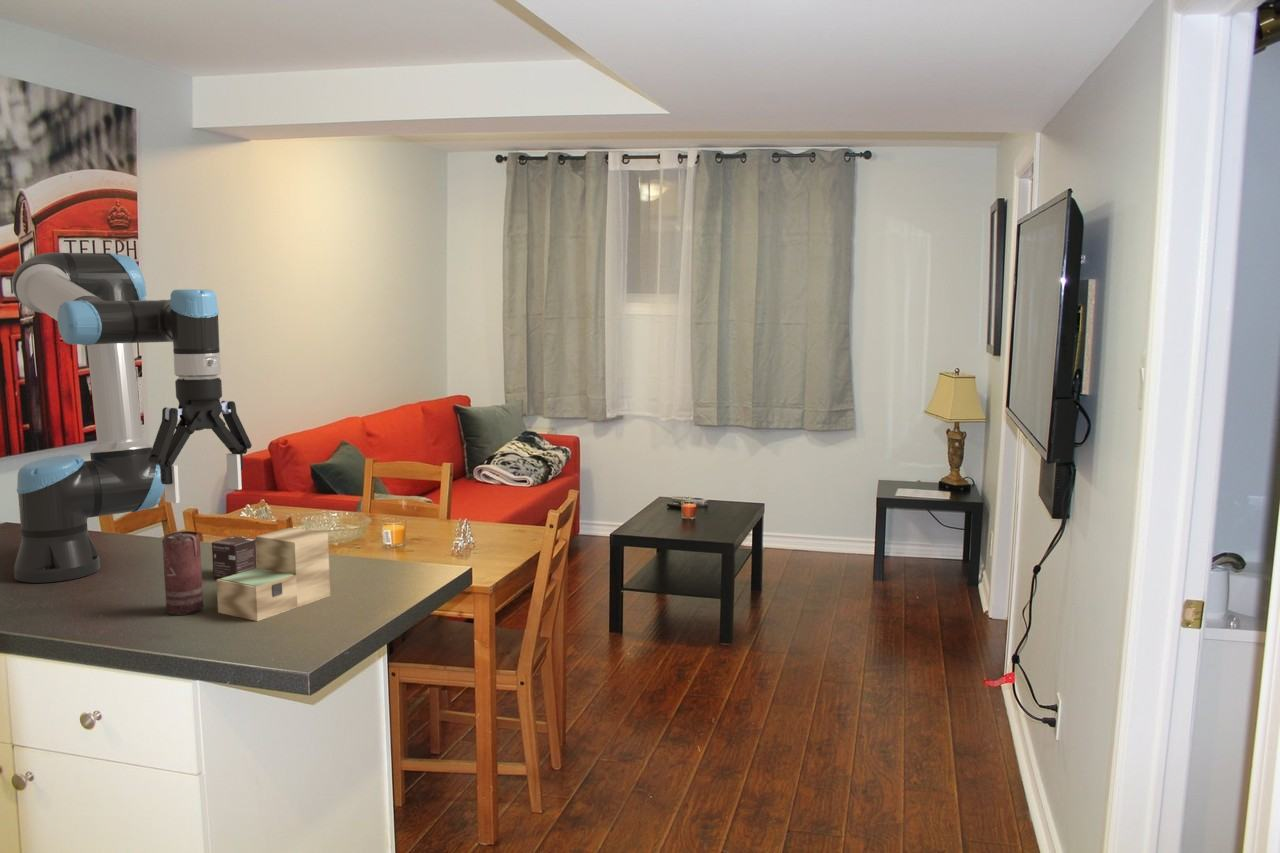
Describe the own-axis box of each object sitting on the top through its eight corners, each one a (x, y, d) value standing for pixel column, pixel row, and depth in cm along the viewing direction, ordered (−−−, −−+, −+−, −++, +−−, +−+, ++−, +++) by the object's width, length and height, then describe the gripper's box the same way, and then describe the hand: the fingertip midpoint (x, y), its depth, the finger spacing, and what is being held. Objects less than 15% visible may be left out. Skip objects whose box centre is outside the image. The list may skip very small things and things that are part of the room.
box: (212, 578, 205) (210, 542, 204) (234, 570, 211) (232, 535, 210) (236, 581, 203) (234, 545, 202) (258, 574, 209) (256, 538, 208)
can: (191, 617, 181) (186, 539, 179) (159, 614, 182) (154, 537, 180) (212, 606, 187) (208, 531, 185) (180, 604, 188) (176, 529, 186)
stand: (218, 612, 183) (214, 546, 182) (292, 588, 198) (289, 527, 196) (258, 621, 178) (255, 553, 177) (331, 596, 193) (328, 533, 192)
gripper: (151, 383, 169) (159, 510, 172) (268, 373, 191) (273, 485, 194) (120, 381, 173) (128, 506, 175) (238, 371, 195) (244, 482, 197)
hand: (204, 495), depth 185 cm, fingers open, 13 cm apart
